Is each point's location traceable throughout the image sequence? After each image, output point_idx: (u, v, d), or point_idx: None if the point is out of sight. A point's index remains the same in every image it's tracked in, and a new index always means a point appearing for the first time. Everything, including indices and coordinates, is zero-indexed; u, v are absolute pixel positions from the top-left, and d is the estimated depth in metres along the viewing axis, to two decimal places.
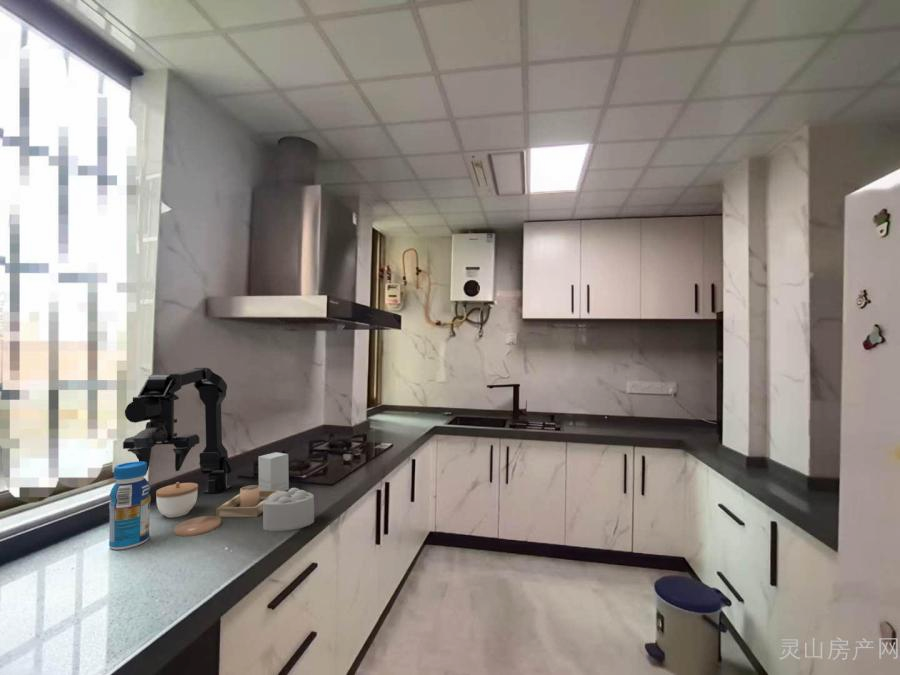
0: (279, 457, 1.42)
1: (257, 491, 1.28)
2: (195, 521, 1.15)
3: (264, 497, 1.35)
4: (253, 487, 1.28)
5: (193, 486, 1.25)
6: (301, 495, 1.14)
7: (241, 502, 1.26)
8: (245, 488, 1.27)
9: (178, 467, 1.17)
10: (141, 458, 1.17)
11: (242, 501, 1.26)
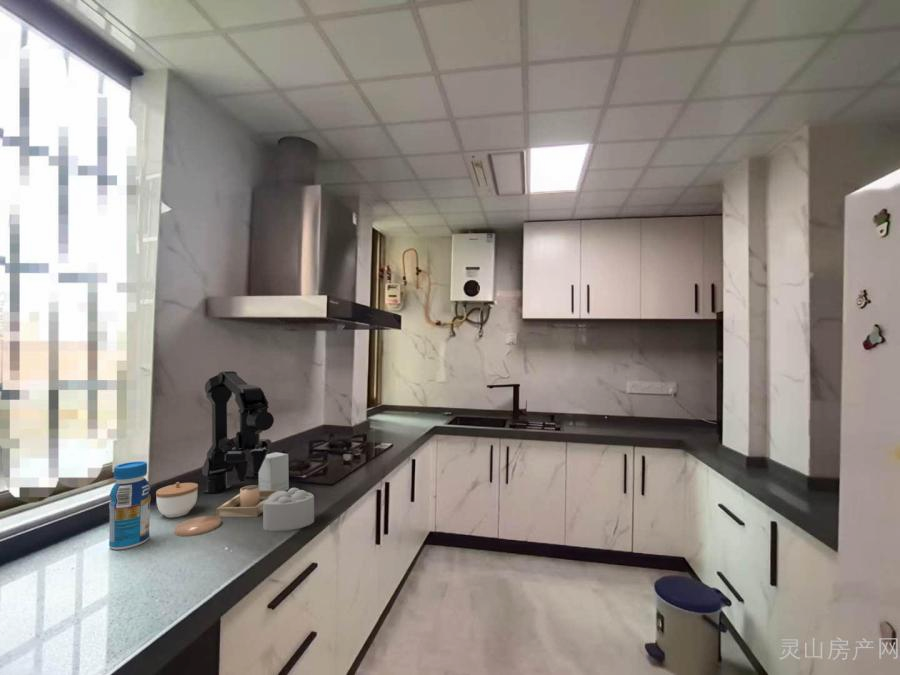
0: (279, 457, 1.42)
1: (257, 491, 1.28)
2: (195, 521, 1.15)
3: (264, 497, 1.35)
4: (253, 487, 1.28)
5: (193, 486, 1.25)
6: (301, 495, 1.14)
7: (241, 502, 1.26)
8: (245, 488, 1.27)
9: (240, 478, 1.24)
10: None
11: (242, 501, 1.26)
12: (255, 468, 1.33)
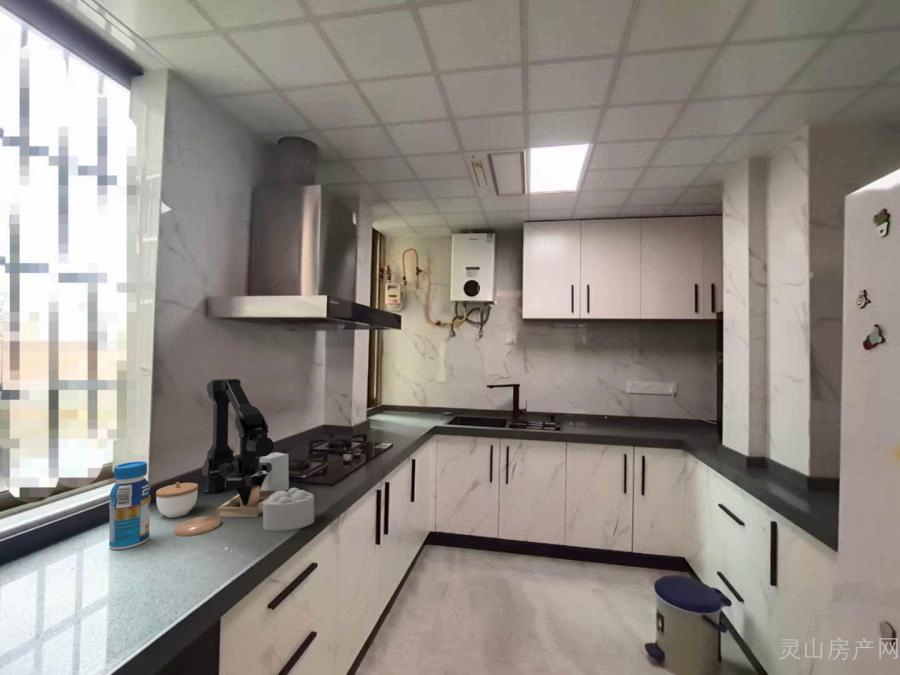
0: (279, 457, 1.42)
1: (257, 491, 1.28)
2: (195, 521, 1.15)
3: (264, 497, 1.35)
4: (253, 487, 1.28)
5: (193, 486, 1.25)
6: (301, 495, 1.14)
7: (241, 502, 1.26)
8: None
9: (243, 502, 1.25)
10: None
11: None
12: None
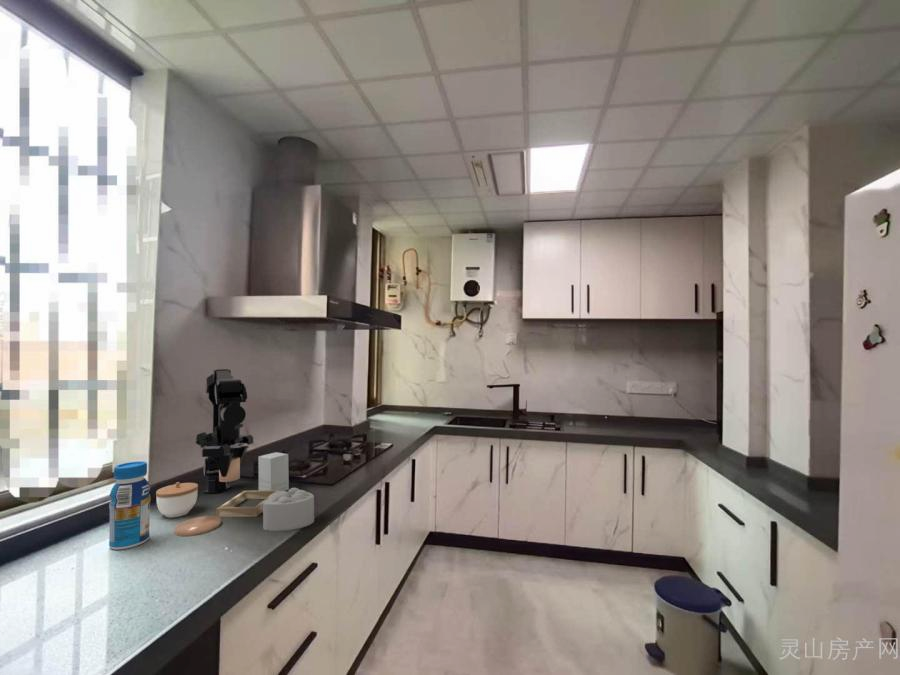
0: (279, 457, 1.42)
1: (237, 462, 1.22)
2: (195, 521, 1.15)
3: (264, 497, 1.35)
4: (233, 458, 1.22)
5: (193, 486, 1.25)
6: (301, 495, 1.14)
7: (220, 474, 1.20)
8: None
9: (222, 473, 1.19)
10: None
11: None
12: None
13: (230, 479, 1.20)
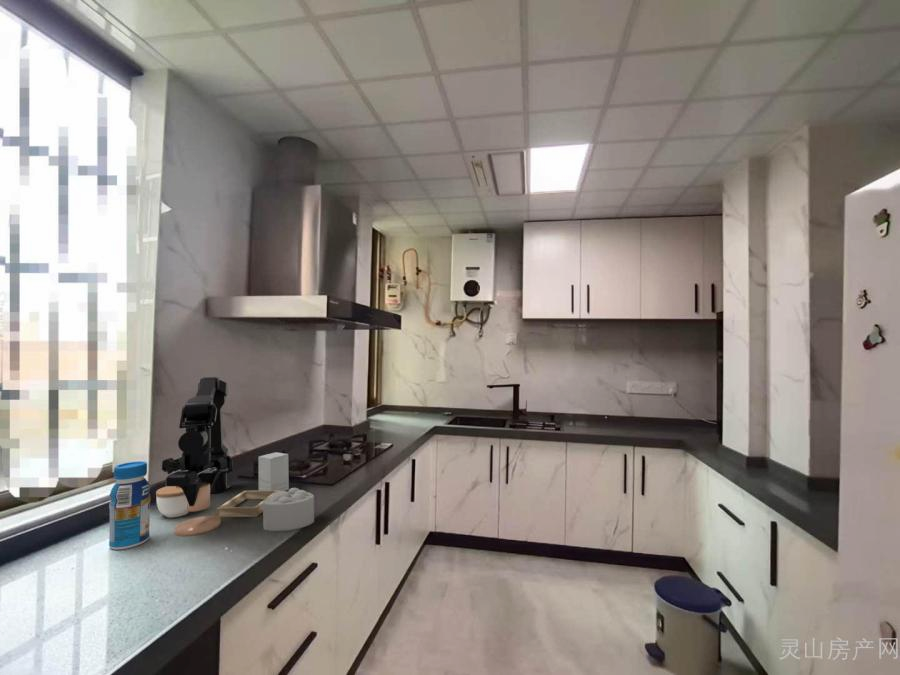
0: (279, 457, 1.42)
1: (207, 490, 1.13)
2: (195, 521, 1.15)
3: (264, 497, 1.35)
4: (202, 485, 1.14)
5: None
6: (301, 495, 1.14)
7: (187, 502, 1.11)
8: None
9: (189, 502, 1.10)
10: None
11: None
12: None
13: (198, 508, 1.11)
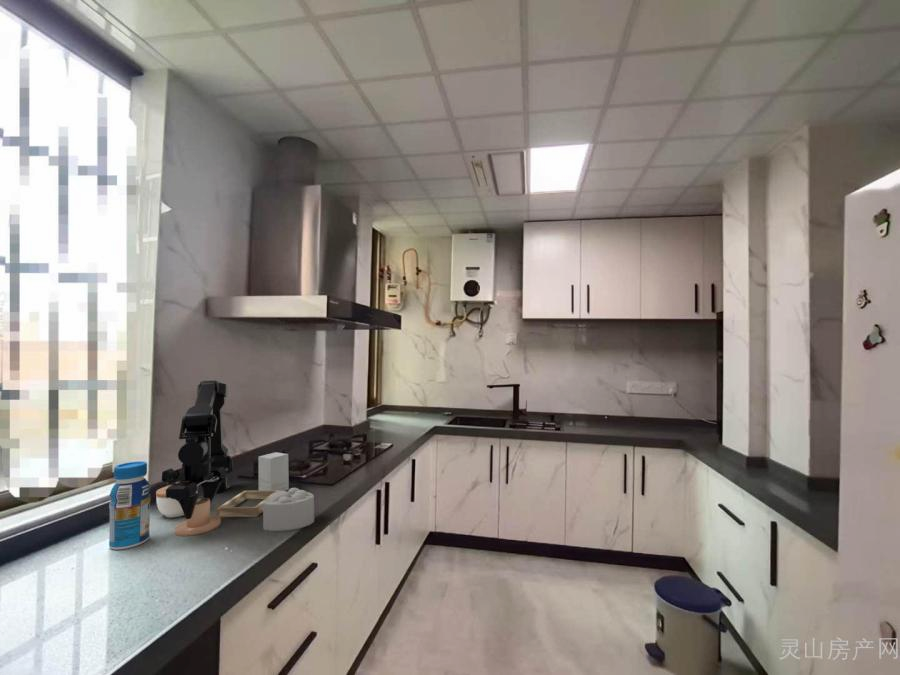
0: (279, 457, 1.42)
1: (207, 506, 1.13)
2: None
3: (264, 497, 1.35)
4: (202, 501, 1.13)
5: None
6: (301, 495, 1.14)
7: (187, 519, 1.11)
8: None
9: (186, 515, 1.09)
10: None
11: None
12: None
13: (198, 525, 1.11)
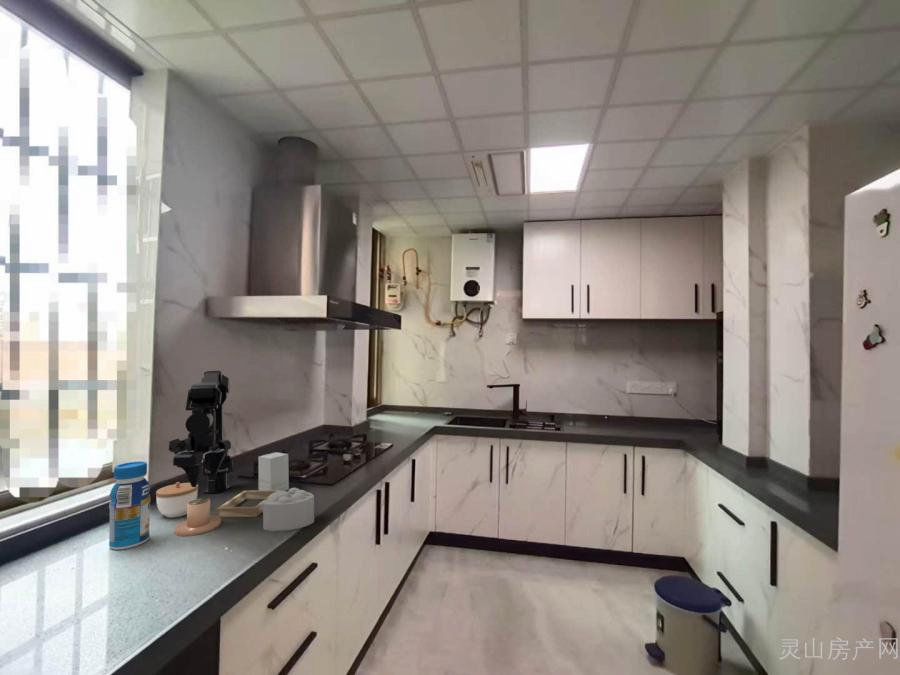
0: (279, 457, 1.42)
1: (207, 506, 1.13)
2: None
3: (264, 497, 1.35)
4: (202, 501, 1.13)
5: None
6: (301, 495, 1.14)
7: (187, 519, 1.11)
8: (193, 502, 1.13)
9: (191, 483, 1.13)
10: None
11: (189, 517, 1.11)
12: (211, 471, 1.23)
13: (198, 524, 1.11)
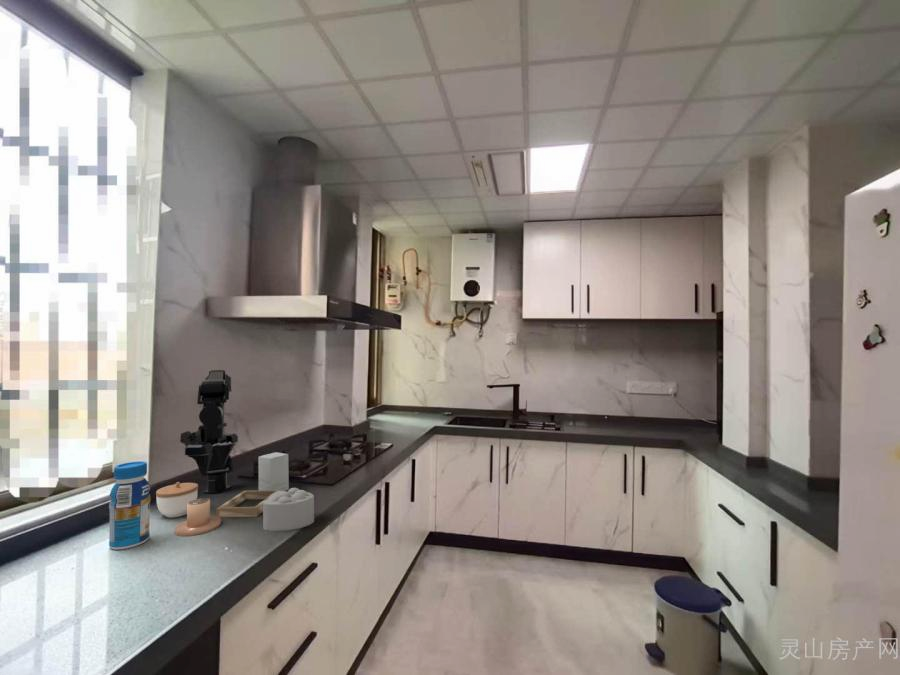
0: (279, 457, 1.42)
1: (207, 505, 1.13)
2: None
3: (264, 497, 1.35)
4: (202, 501, 1.13)
5: (193, 486, 1.25)
6: (301, 495, 1.14)
7: (187, 519, 1.11)
8: (193, 502, 1.13)
9: (201, 472, 1.21)
10: None
11: (189, 517, 1.11)
12: (220, 463, 1.30)
13: (198, 524, 1.11)
